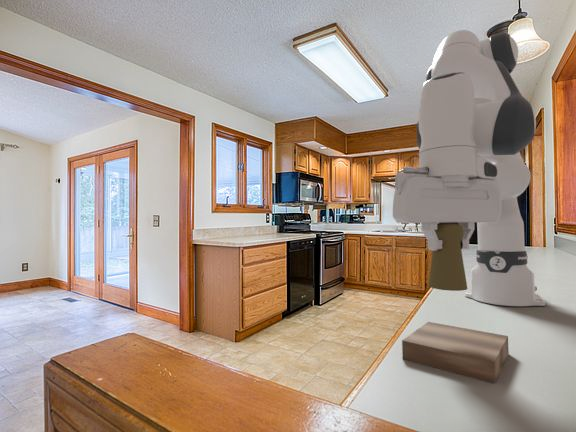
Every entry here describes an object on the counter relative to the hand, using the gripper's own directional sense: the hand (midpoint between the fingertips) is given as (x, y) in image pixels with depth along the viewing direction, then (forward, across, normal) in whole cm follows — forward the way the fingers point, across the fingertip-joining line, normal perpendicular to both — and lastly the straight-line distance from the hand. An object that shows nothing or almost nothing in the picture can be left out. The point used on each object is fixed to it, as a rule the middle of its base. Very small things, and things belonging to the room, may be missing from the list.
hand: (448, 249), depth 54 cm
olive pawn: (+6, 0, 0) cm, 7 cm away
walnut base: (+18, 0, -1) cm, 18 cm away
